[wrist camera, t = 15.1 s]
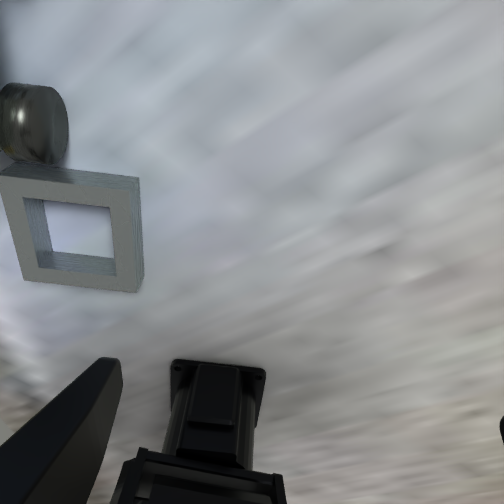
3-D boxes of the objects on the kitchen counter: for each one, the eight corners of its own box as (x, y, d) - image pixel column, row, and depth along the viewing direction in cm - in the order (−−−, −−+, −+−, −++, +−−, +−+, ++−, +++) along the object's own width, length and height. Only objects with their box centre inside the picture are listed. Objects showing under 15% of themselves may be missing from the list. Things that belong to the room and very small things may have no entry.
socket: (144, 275, 23) (136, 293, 22) (38, 263, 23) (23, 280, 22) (138, 177, 20) (129, 190, 18) (14, 162, 20) (-5, 175, 18)
